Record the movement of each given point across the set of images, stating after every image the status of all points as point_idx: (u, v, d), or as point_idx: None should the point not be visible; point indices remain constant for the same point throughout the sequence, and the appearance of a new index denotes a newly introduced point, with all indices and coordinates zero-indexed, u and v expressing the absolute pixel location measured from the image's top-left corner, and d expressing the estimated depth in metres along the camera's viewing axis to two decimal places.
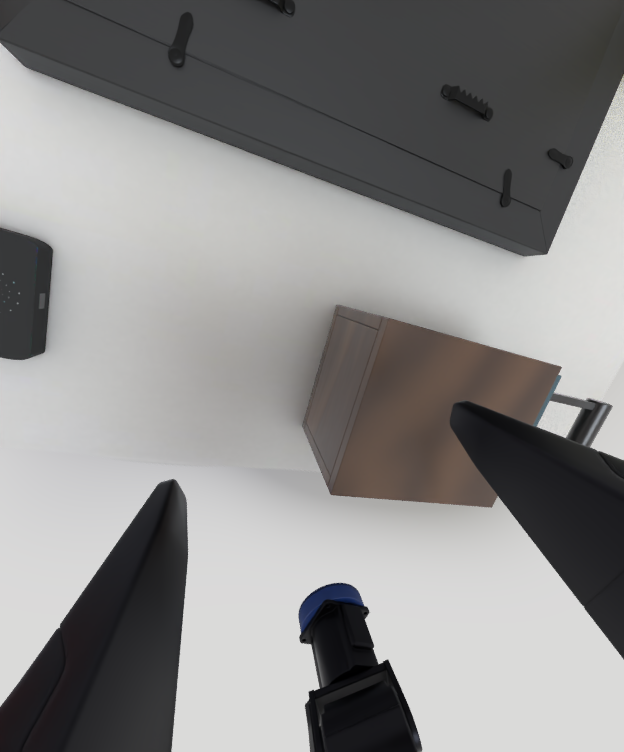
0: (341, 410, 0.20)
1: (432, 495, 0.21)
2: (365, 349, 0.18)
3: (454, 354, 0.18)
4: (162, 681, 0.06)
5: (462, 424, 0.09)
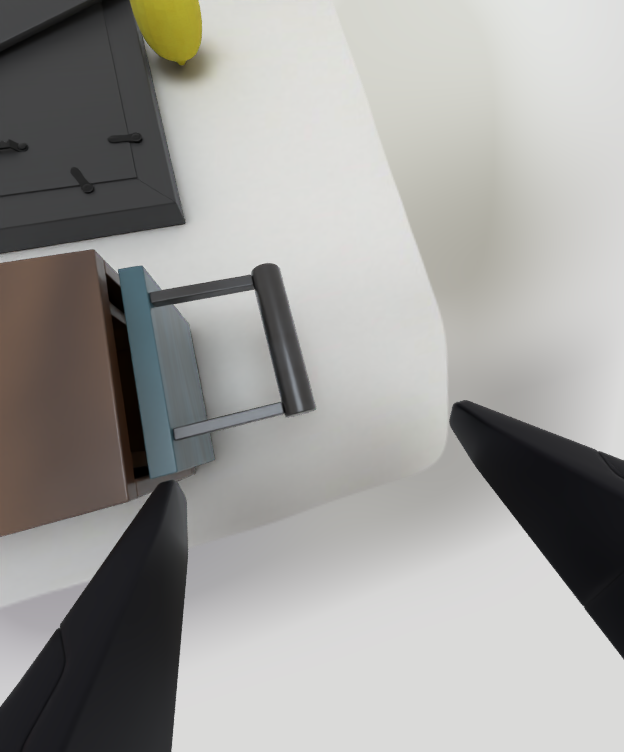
0: None
1: None
2: None
3: None
4: (162, 681, 0.06)
5: (462, 424, 0.09)
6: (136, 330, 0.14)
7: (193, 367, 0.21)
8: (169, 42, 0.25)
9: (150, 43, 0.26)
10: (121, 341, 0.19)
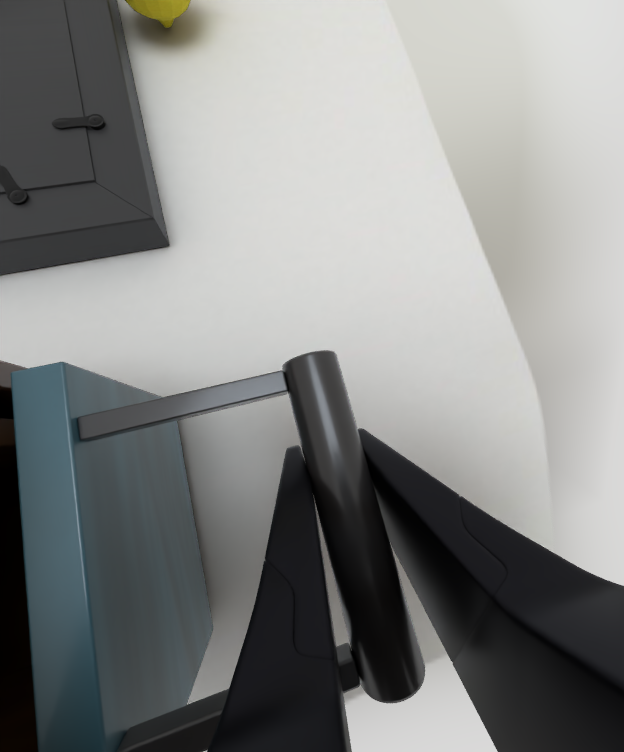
0: None
1: None
2: None
3: None
4: (331, 618, 0.07)
5: None
6: (42, 514, 0.06)
7: (179, 481, 0.13)
8: None
9: None
10: None
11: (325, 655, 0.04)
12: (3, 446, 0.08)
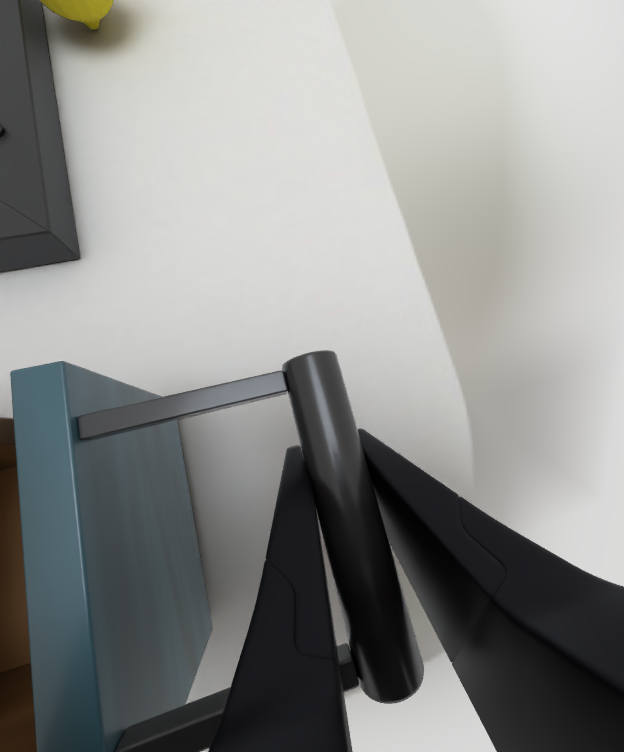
0: None
1: None
2: None
3: None
4: (332, 618, 0.07)
5: None
6: (41, 513, 0.06)
7: (178, 481, 0.13)
8: None
9: None
10: None
11: (326, 655, 0.04)
12: (3, 445, 0.08)
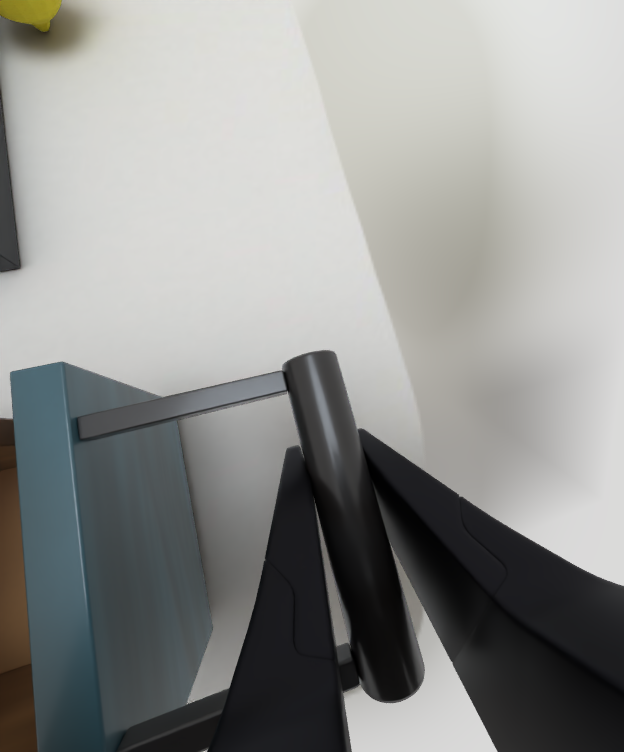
0: None
1: None
2: None
3: None
4: (331, 618, 0.07)
5: None
6: (41, 514, 0.06)
7: (179, 481, 0.13)
8: None
9: None
10: None
11: (325, 655, 0.04)
12: (3, 446, 0.08)
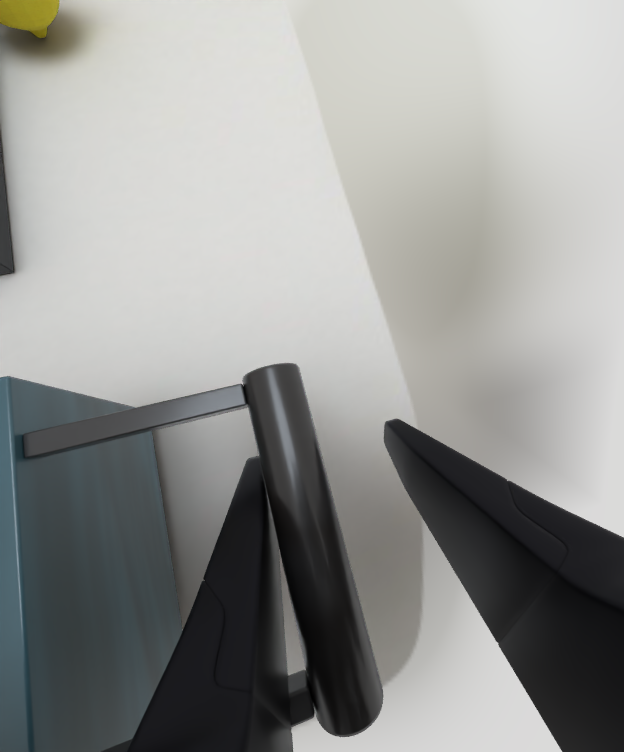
0: None
1: None
2: None
3: None
4: (280, 637, 0.06)
5: (392, 444, 0.09)
6: None
7: (150, 494, 0.13)
8: None
9: None
10: None
11: (244, 687, 0.04)
12: None
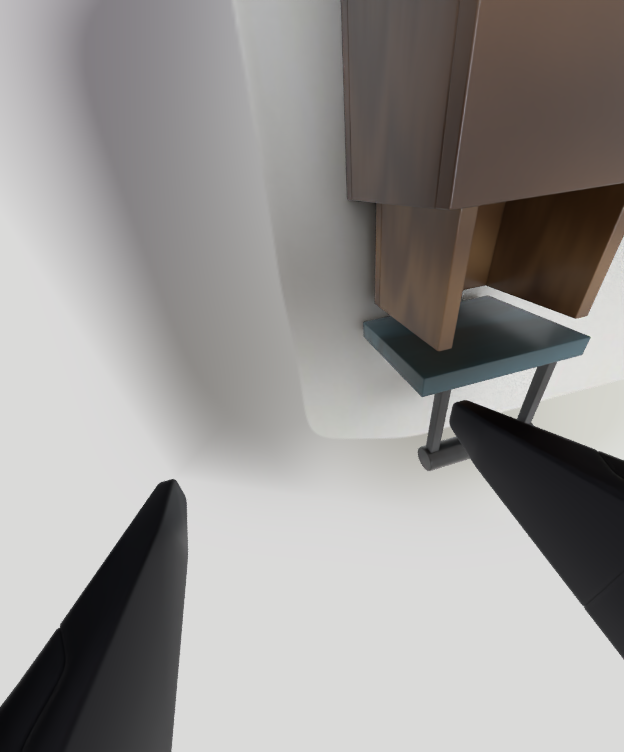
0: None
1: None
2: None
3: None
4: (162, 681, 0.06)
5: (462, 424, 0.09)
6: (537, 356, 0.16)
7: None
8: None
9: None
10: (506, 272, 0.19)
11: None
12: (554, 310, 0.17)
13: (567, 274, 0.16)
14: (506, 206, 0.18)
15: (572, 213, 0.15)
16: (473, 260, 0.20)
